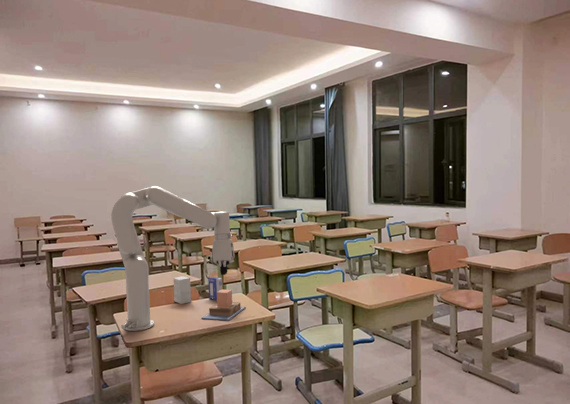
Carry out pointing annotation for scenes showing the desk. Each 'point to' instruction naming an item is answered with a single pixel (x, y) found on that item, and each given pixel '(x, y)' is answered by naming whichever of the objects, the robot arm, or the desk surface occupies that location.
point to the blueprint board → (222, 316)
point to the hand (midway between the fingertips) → (223, 274)
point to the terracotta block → (224, 298)
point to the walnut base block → (224, 309)
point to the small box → (182, 290)
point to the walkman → (214, 286)
